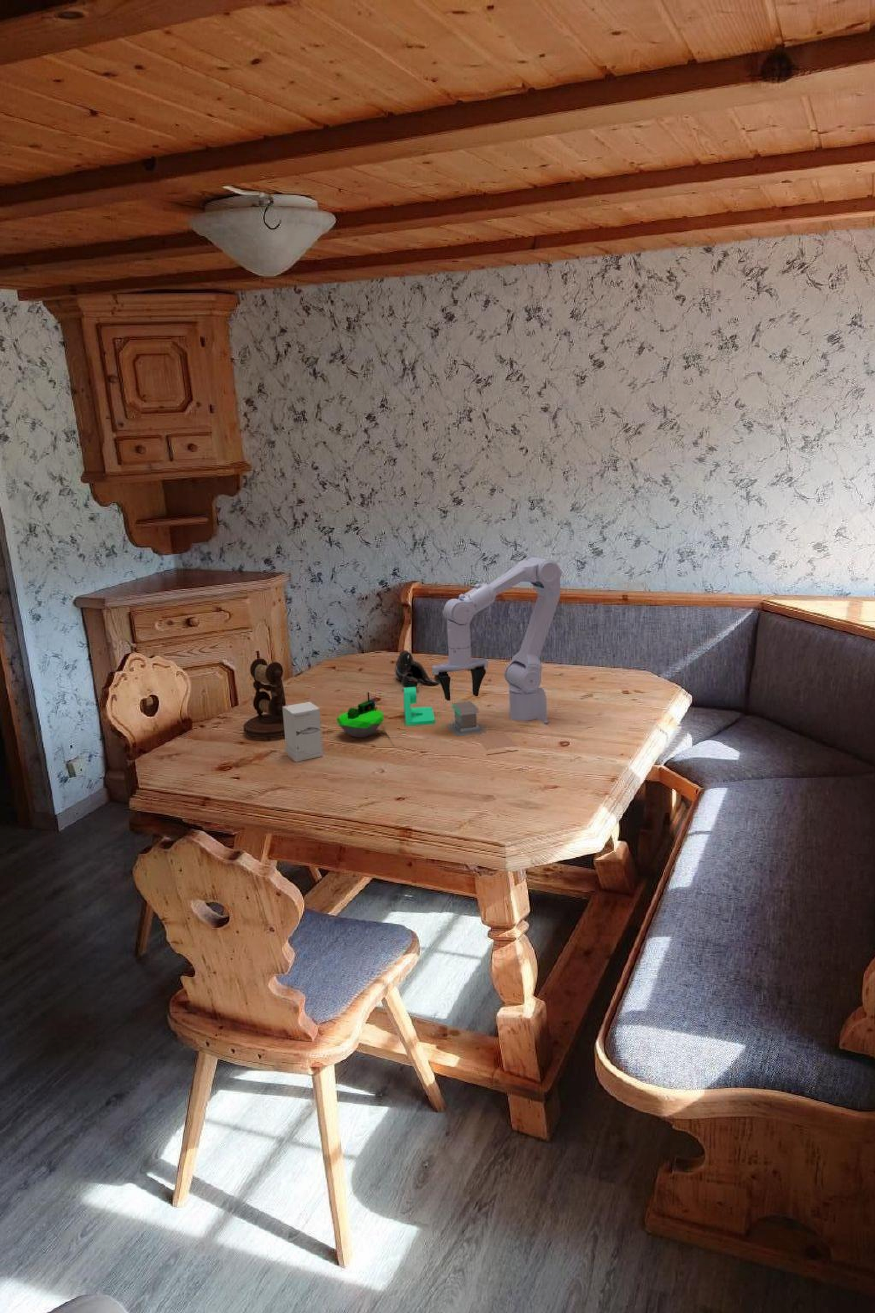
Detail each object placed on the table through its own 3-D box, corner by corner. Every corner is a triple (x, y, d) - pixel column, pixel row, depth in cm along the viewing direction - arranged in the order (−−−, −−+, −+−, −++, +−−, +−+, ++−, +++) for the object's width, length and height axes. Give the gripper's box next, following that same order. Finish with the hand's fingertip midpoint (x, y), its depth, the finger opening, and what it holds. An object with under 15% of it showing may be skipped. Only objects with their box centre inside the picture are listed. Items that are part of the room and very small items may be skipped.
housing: (471, 722, 244) (470, 701, 242) (479, 730, 237) (478, 708, 235) (452, 725, 242) (451, 703, 241) (460, 733, 236) (459, 711, 234)
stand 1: (474, 725, 246) (474, 720, 245) (486, 737, 236) (486, 732, 236) (446, 729, 244) (445, 724, 243) (456, 741, 234) (456, 736, 234)
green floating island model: (359, 726, 250) (356, 687, 247) (393, 732, 243) (390, 692, 241) (329, 739, 241) (325, 698, 238) (363, 746, 234) (360, 704, 231)
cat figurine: (431, 682, 297) (442, 708, 281) (390, 674, 293) (399, 700, 277) (440, 655, 293) (452, 679, 277) (398, 647, 289) (408, 671, 273)
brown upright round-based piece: (311, 730, 248) (305, 658, 243) (266, 745, 238) (259, 670, 233) (277, 719, 258) (271, 650, 253) (233, 734, 248) (225, 662, 242)
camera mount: (435, 729, 244) (433, 692, 242) (406, 731, 244) (404, 694, 241) (432, 715, 256) (430, 680, 253) (404, 717, 256) (402, 681, 253)
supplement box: (295, 763, 225) (291, 713, 222) (285, 753, 231) (281, 705, 228) (324, 756, 228) (320, 708, 225) (313, 748, 234) (309, 700, 231)
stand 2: (504, 738, 235) (504, 732, 235) (517, 750, 226) (517, 745, 226) (474, 742, 233) (474, 736, 233) (486, 755, 224) (486, 749, 224)
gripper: (480, 639, 240) (482, 689, 243) (427, 646, 236) (430, 697, 239) (490, 645, 233) (492, 696, 237) (436, 652, 229) (439, 704, 233)
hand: (461, 697), depth 238 cm, fingers open, 7 cm apart
